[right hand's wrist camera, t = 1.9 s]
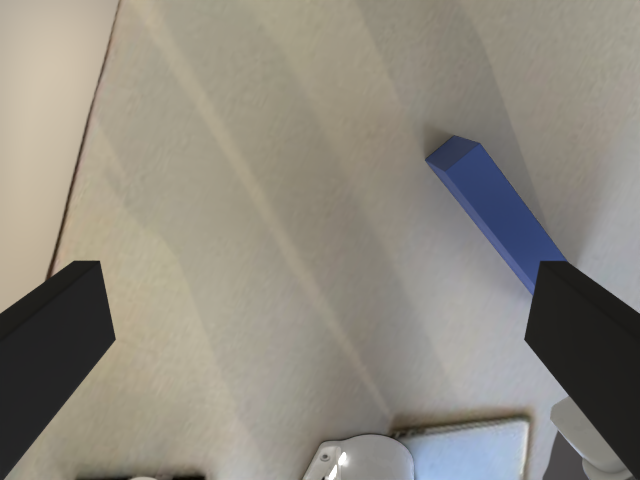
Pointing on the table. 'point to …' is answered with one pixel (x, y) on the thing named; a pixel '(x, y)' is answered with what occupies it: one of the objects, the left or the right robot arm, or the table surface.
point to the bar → (494, 207)
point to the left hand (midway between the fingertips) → (611, 335)
